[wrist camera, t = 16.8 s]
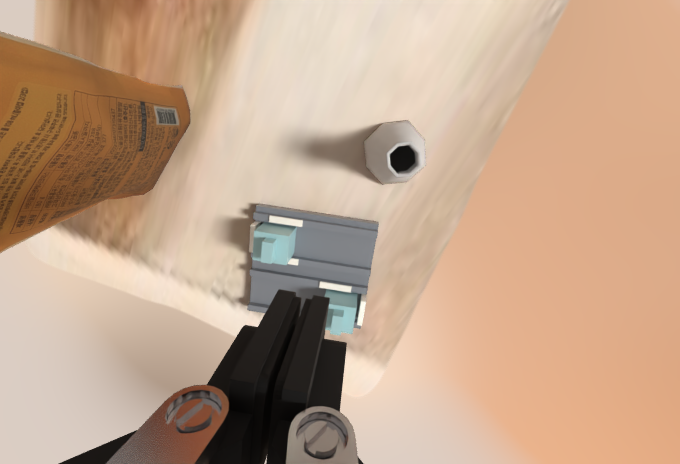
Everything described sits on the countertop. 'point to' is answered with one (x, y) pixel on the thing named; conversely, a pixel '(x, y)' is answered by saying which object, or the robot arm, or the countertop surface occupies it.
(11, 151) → the pancake mix bag
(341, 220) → the switch bank
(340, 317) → the tab
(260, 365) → the robot arm
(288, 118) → the countertop surface
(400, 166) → the flask
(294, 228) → the tab
